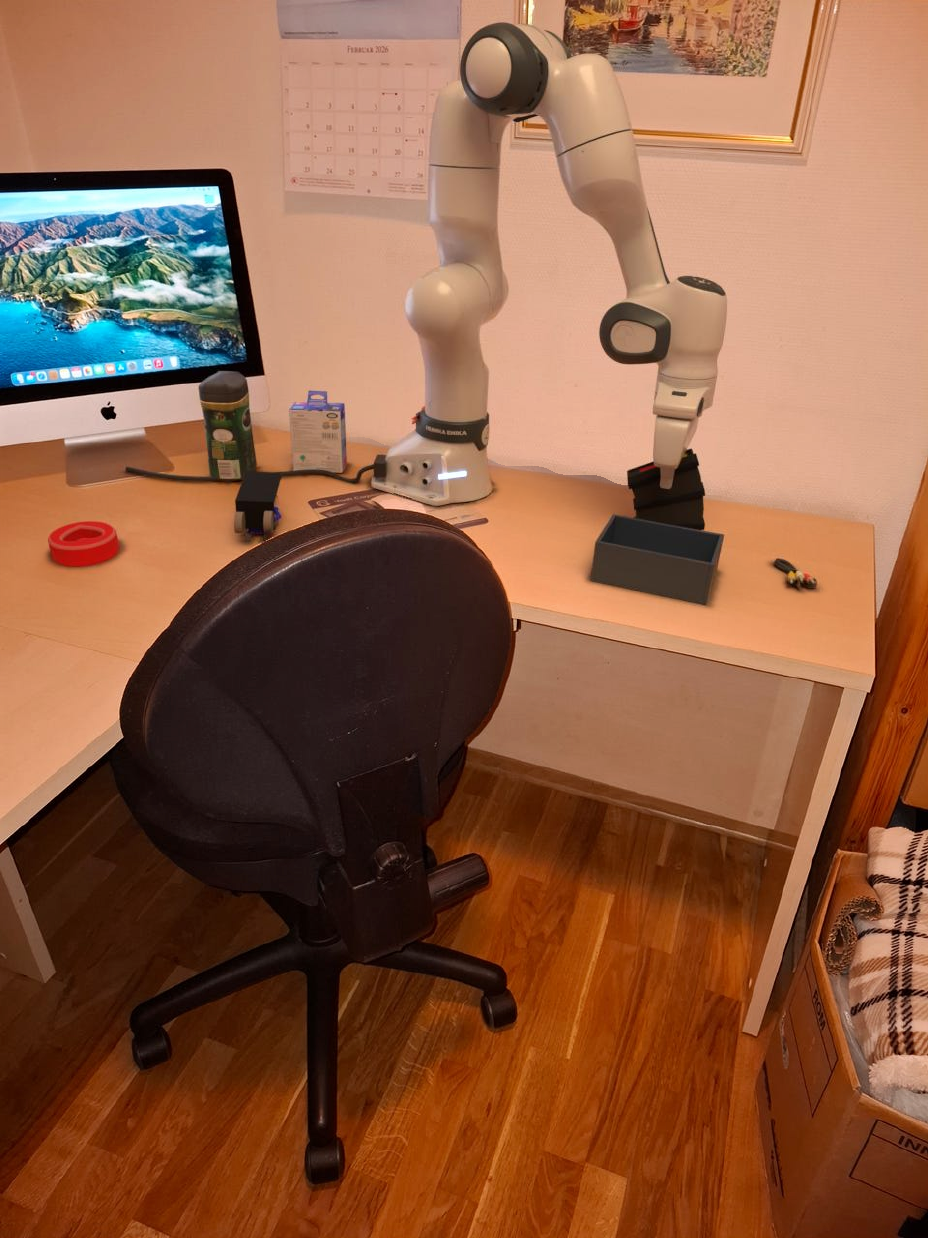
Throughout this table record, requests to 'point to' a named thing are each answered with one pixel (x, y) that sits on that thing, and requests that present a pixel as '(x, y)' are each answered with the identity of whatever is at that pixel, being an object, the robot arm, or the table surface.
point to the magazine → (669, 494)
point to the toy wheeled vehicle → (257, 504)
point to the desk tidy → (657, 558)
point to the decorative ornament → (83, 543)
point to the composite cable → (796, 575)
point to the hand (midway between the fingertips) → (671, 477)
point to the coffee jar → (227, 425)
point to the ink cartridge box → (318, 434)
